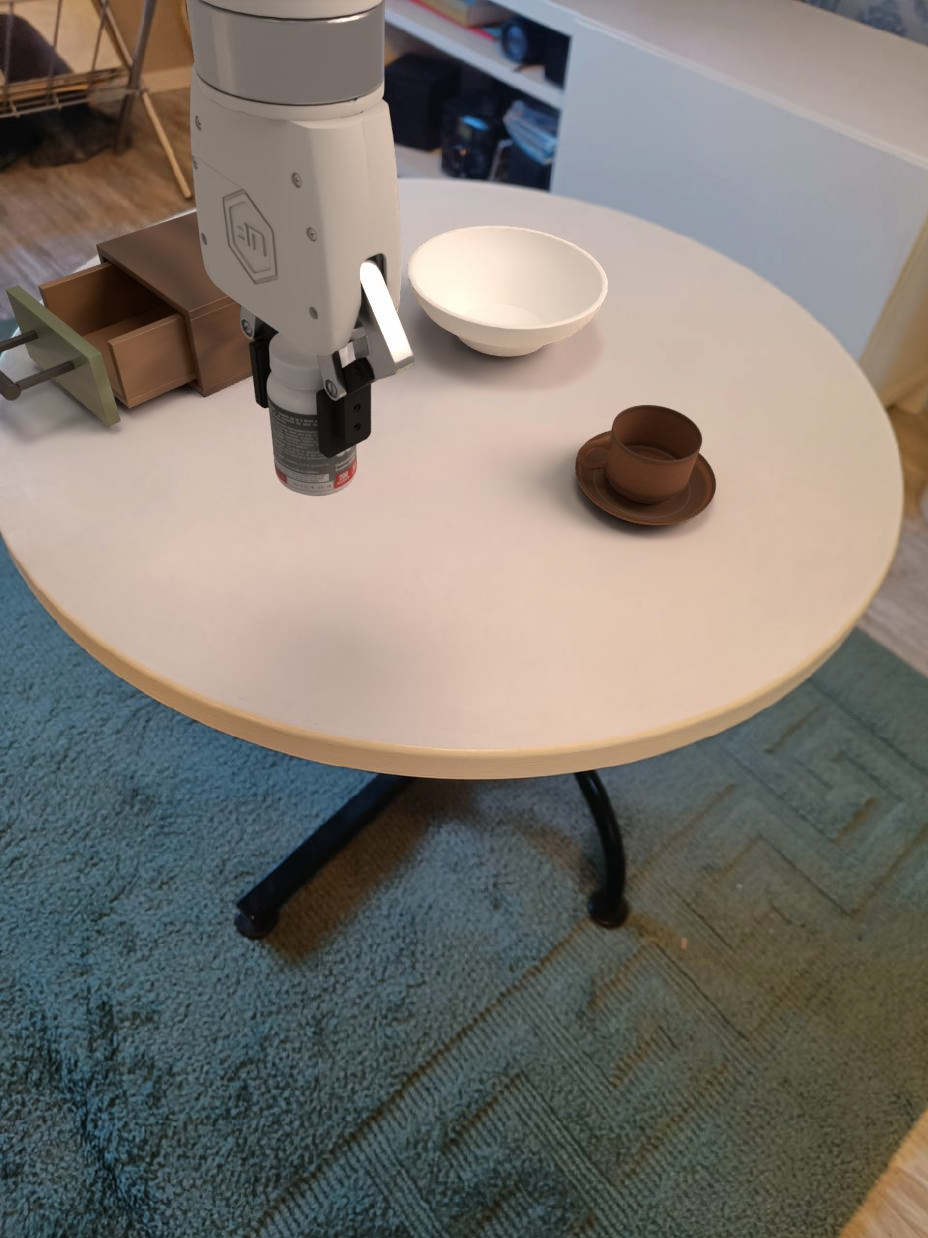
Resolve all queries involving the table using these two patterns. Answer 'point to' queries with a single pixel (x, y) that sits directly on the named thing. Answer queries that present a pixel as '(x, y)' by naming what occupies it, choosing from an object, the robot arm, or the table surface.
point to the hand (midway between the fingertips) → (313, 418)
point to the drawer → (100, 340)
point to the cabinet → (187, 296)
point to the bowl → (506, 287)
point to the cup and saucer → (647, 467)
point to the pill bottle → (302, 423)
